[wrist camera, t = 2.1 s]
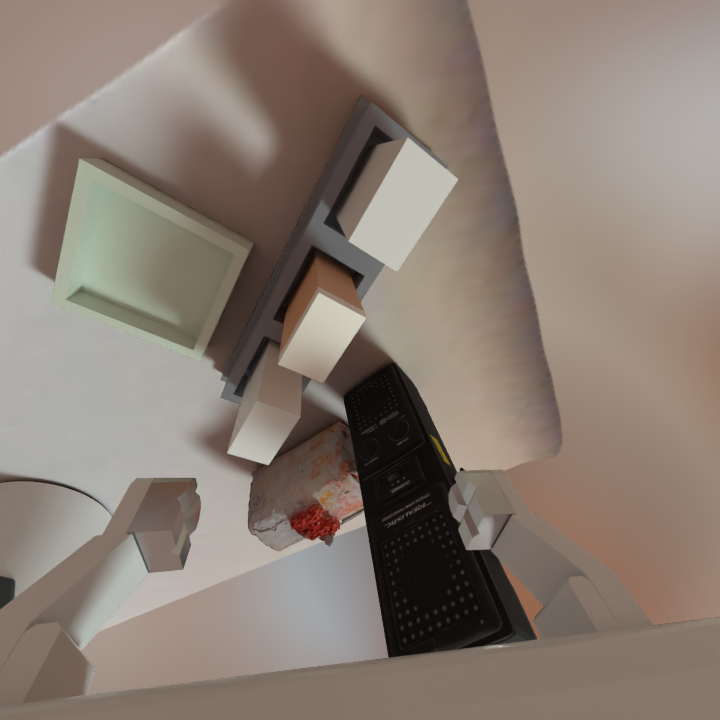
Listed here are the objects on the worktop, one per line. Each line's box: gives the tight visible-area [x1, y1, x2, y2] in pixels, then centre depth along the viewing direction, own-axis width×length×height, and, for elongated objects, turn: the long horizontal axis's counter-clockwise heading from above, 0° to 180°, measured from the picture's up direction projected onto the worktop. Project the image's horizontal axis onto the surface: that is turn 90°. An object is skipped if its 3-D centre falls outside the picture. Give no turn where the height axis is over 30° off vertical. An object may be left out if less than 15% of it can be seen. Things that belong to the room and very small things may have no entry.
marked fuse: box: [278, 249, 366, 383], centre depth 23 cm, size 5×3×10 cm, turn 148°
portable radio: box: [344, 363, 537, 658], centre depth 24 cm, size 8×6×25 cm
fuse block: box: [220, 95, 458, 465], centre depth 23 cm, size 25×7×11 cm, turn 148°
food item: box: [248, 421, 364, 551], centre depth 35 cm, size 14×8×10 cm, turn 123°
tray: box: [51, 158, 254, 361], centre depth 25 cm, size 11×11×2 cm
